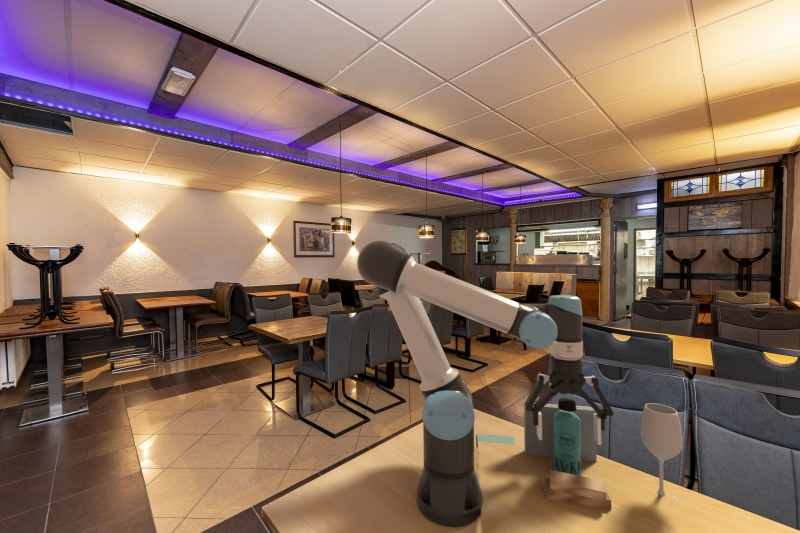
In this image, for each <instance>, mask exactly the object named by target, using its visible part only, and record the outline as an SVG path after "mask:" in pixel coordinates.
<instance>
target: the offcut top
mask: <svg viewBox="0 0 800 533" xmlns="http://www.w3.org/2000/svg"><path fill="white" fill-rule="evenodd" d="M549 479H550V489H553V490H557V491H562V492H566V493H570V494H575V495H579V496H583V497H588V498H592V499H596V500H601V501H605V502H606V491H607V490H606V488H605V487H606V486H605V484H604V480H600V479H596V478H591V477H587V476H586V477H585V476H581V475H580V476H577V475H573V474H568V473H563V472H558V471H554V469H549Z"/></svg>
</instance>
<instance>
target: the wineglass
mask: <svg viewBox="0 0 800 533" xmlns="http://www.w3.org/2000/svg"><path fill="white" fill-rule="evenodd" d="M640 438H641V441H642V443H643V445H644V446H645V448H646V449H647V450H648V451H649V452H650V453H651V454H652V455H653V456H654V457H655V458H656V459H657V460H658V466H659V470H658V472H659V473H658V474H659V477H658V478H659V483H658V484H659V488H658V490H657V491H656V493H657V494H658V495H659V496H660V497H661V496H662V497H667V494H666V493H665V490H664V464H665V461H667V460H671V459H672V458H675V457H676V456H678V455H679V454H680V453H681V452H682V449H683V444H684V440H683V439H684V438H683V430H682V425H681V421H680V417H679V413H678V410H676V409H675V408H674V407H671V406H668V405H665V404H662V403H653V402H652V403H645V404H644V407H643V410H642V415H641V422H640ZM671 496H672V497H673V498H674V499H675V501H676V502H677V503H678V504H679V505H680V506H681V507H683V504H682V502H681V501H680V499H679V498H677V496H675V495H674V494H671Z"/></svg>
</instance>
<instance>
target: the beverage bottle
mask: <svg viewBox="0 0 800 533" xmlns="http://www.w3.org/2000/svg"><path fill="white" fill-rule="evenodd" d="M576 406H577V405H576V400H574V399H572V398H568V397H560V398H559V399H558V408H559V409H561V410H559V411H557V412H556V413H555V414H554V416H553V417H554V436H553V458H552V467H553V470H554V471H558V472H563V473H568V474H573V475H577V476H581V474H582V461H581V455H582V454H581V448H582V447H581V419H580V418H579V417H578V416H577V415H576V414H575V413H574V411H576Z"/></svg>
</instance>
